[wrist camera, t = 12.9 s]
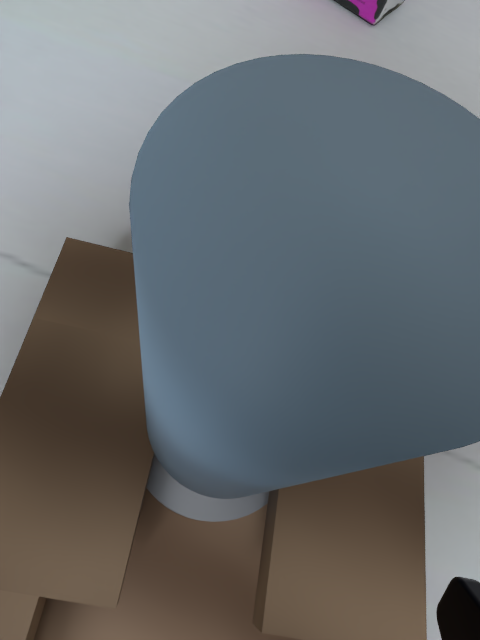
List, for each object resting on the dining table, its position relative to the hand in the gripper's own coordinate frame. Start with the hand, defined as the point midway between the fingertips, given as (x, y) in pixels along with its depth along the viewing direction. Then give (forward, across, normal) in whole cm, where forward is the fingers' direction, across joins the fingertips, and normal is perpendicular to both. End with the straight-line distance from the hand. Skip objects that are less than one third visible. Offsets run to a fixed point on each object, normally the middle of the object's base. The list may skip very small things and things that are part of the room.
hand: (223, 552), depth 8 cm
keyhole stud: (+8, 0, +3) cm, 8 cm away
